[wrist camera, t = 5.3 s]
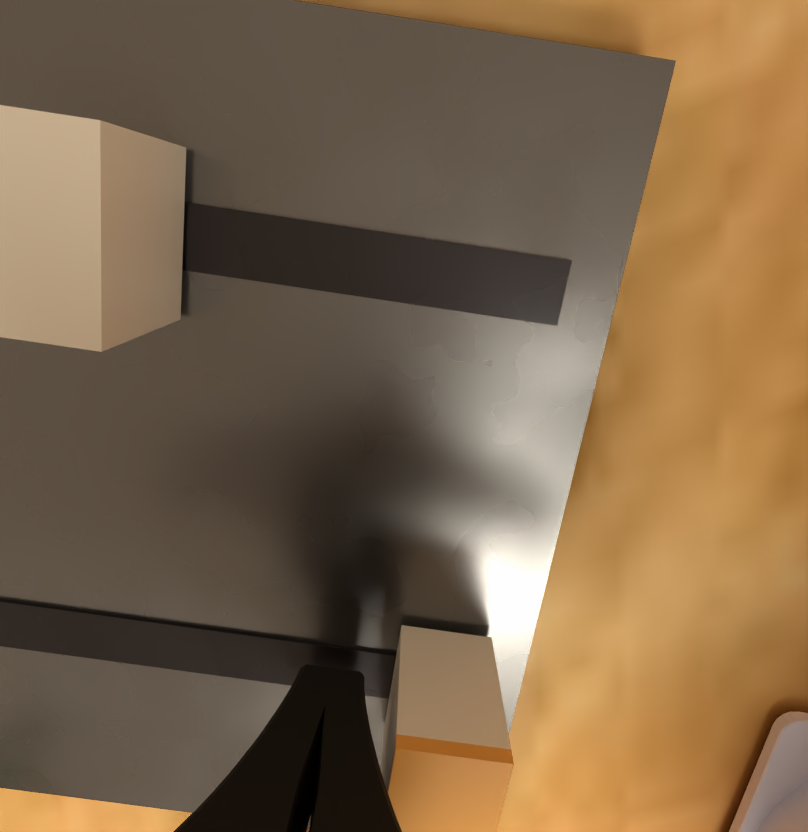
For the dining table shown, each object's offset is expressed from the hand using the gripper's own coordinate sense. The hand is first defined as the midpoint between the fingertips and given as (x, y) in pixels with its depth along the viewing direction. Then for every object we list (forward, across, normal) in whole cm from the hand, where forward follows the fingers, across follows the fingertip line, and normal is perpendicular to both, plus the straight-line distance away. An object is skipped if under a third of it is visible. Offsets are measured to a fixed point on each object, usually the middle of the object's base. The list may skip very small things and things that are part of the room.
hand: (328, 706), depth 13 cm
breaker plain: (+1, +5, -9) cm, 10 cm away
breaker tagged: (+1, -2, 0) cm, 3 cm away
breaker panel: (+3, +3, -4) cm, 6 cm away
